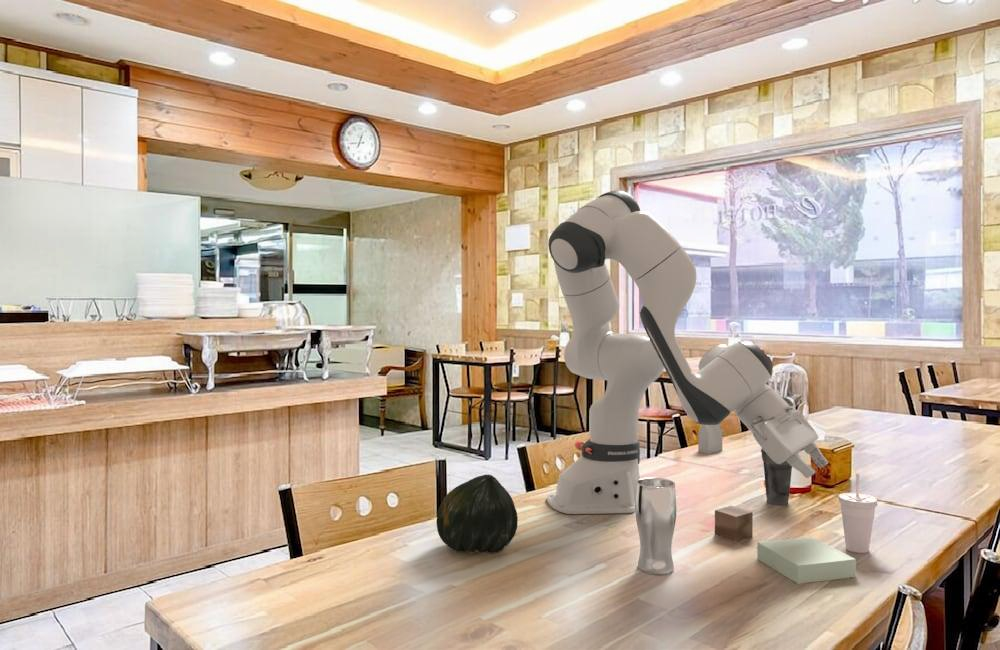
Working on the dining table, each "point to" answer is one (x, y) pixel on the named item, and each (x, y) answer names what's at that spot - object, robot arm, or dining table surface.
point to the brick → (733, 523)
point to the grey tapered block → (710, 438)
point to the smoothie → (857, 519)
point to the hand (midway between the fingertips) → (818, 470)
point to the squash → (477, 516)
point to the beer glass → (655, 524)
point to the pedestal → (806, 559)
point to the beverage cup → (776, 480)
